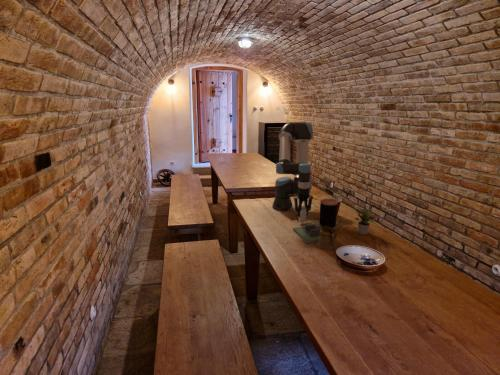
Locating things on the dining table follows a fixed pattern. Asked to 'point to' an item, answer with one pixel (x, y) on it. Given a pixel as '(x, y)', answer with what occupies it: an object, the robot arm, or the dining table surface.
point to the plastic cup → (337, 203)
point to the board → (309, 232)
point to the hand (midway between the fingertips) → (302, 220)
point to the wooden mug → (327, 237)
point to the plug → (303, 214)
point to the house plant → (364, 221)
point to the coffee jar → (328, 212)
